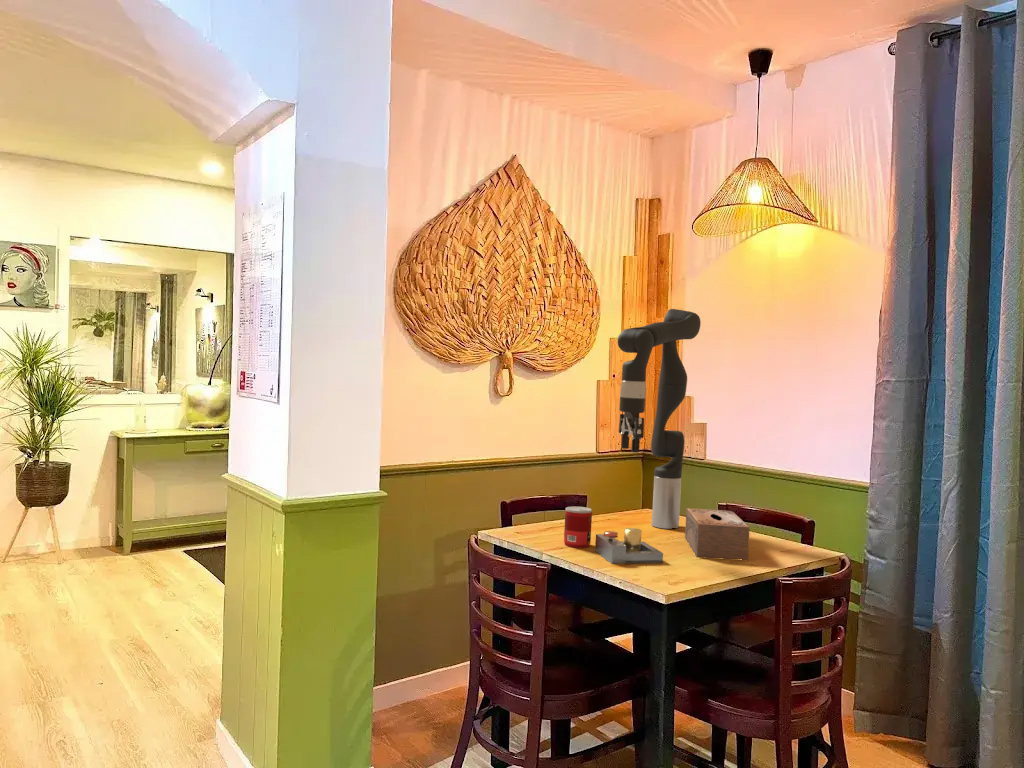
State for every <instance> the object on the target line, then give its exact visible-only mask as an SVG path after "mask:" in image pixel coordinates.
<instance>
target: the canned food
mask: <svg viewBox="0 0 1024 768" xmlns="http://www.w3.org/2000/svg"><path fill="white" fill-rule="evenodd" d="M592 517H593V509H592V508H589V507H585V506H567V507H565V511H564V531H563V532H564V533H563V542H564V545H565V546H566V547H568V548H569V547H570V548H577V549H578V548H579V549H583V548H589V547H590V545H591V538H592V524H593V523H592V521H593V518H592Z"/></svg>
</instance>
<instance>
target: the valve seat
mask: <svg viewBox="0 0 1024 768" xmlns="http://www.w3.org/2000/svg"><path fill="white" fill-rule="evenodd" d="M618 537H619V532H617V531H613V530H612V531H611V530H606V531H605V530H604V532H603V534H601V533H600V534H599V533H595V545H594V551H595V552H596V553H597V554H598V555H599V556H600V557H602V558H603V559H605V560H606V561H607V562H608V563H610V564H612V565H614V564H615V565H616V564H617V565H620V564H622V565H623V564H629V565H631V564H663V562H664V561H663V560H664V552H662V551H660V549H659V550H658V549H657V548H655V547H654V546H652V545H650V544H649V543H648V542H645V541H641V549H640V552H626V545H625V544H624V541H620V540H619V539H617V538H618Z"/></svg>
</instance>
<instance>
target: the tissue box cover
mask: <svg viewBox="0 0 1024 768" xmlns="http://www.w3.org/2000/svg"><path fill="white" fill-rule="evenodd" d="M685 509H686V511H685V527H684V528H685V529H684V530H685V531H684V539H685V538H686V539H685V541H686V540H687V541H686V542H687V544H688V543H689V544H688V546H689V545H690V546H689V547H690V549H691V548H692V549H691V551H692V552H693V554H694V553H695V554H694V555H695V557H696V558H697V557H706V558H705V559H712V558H723V559H722V560H727V559H742V560H748V561H749V544H750V526H749V525H747V523H746V522H745V521H743V519H742V518H741V517H739V516H738V515H737V514H736V513H735V512H734V511H732V510H725V509H724V510H723V509H709V508H708V509H706V508H688V507H687V508H685ZM742 560H741V561H742Z"/></svg>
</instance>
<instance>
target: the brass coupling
mask: <svg viewBox="0 0 1024 768" xmlns="http://www.w3.org/2000/svg"><path fill="white" fill-rule="evenodd" d="M623 530H624V532H623V533H624V534H623V542H624V544H625V545H626V552H640V549H641V542H642V529H640V528H634V527H626V528H624V529H623Z"/></svg>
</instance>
